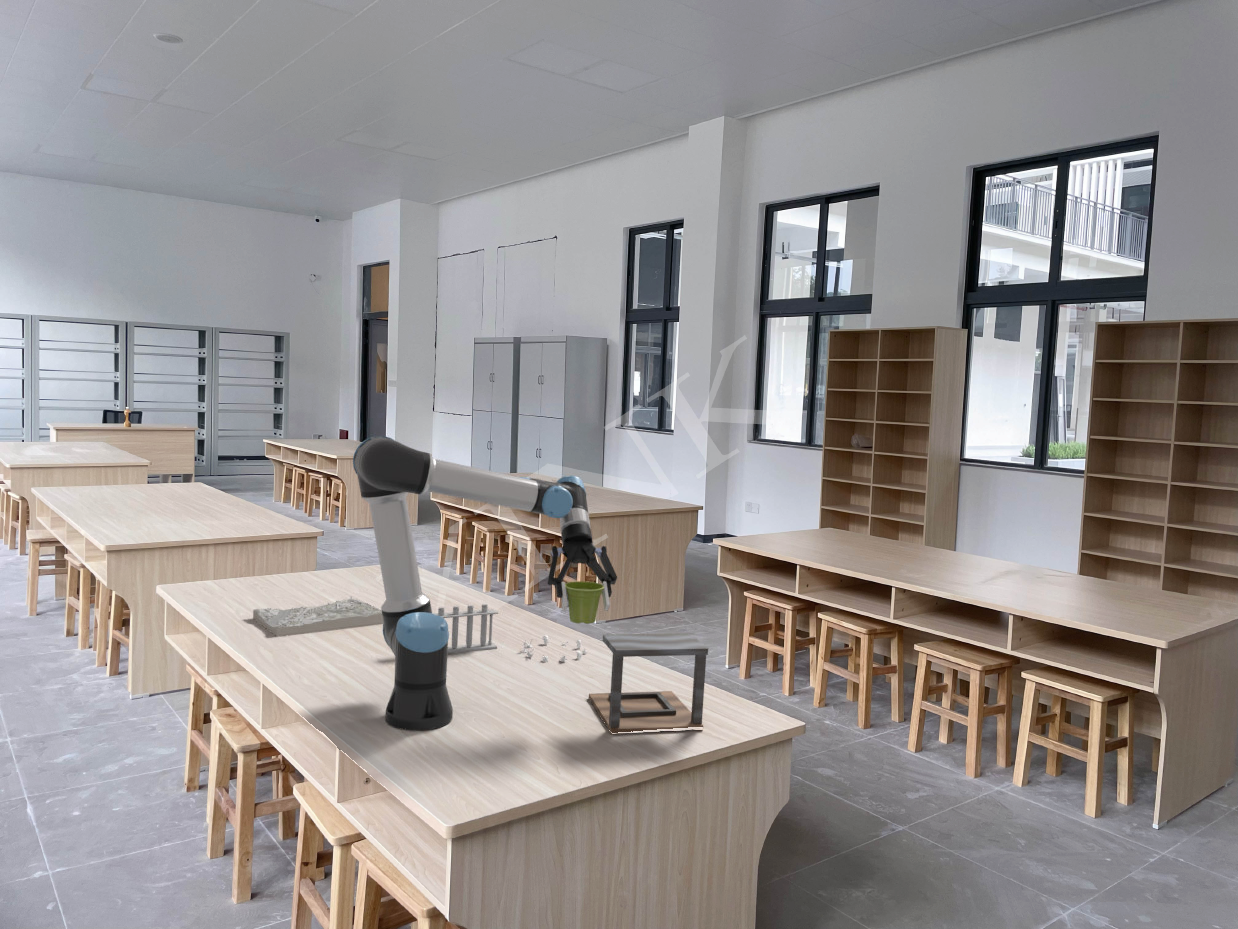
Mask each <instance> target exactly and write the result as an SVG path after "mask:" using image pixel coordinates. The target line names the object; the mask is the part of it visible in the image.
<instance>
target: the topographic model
mask: <svg viewBox="0 0 1238 929" xmlns="http://www.w3.org/2000/svg"><path fill="white" fill-rule="evenodd" d="M253 618H254V619H255V620H256V621H255V622H257V621H258V622H259V623H260V625H261V626H262V625H263V626H264V628H265V629H266V628H267V629H268V630H267V629H266V630H267V631H268V632H270V631H271V632H272V633H273V635H274V636H275V635H276V636H280V637H287V636H286V635H288V636H294V635H304V634H312V633H319V632H328V631H335V630H343V629H351V628H360V627H368V626H377V625H383V623H384V622H383V616H382V610H381V609H380V608H378V607H376V606H375V605H373V606H372V604H369V603H367V602H364V601H362V600H360V599H358V598H353V596H352V595H351V596H350V598H347V599H342V600H336V601H334V602H332V603H329V602H328V603H327V604H322V605H316V606H313V605H312V606H305V607H304V606H301V607H292V608H289V609H281V608H272V607H270V608H269V607H267V608H256V609H255V608H254V609H253V610H252V619H253ZM254 619H253V620H254ZM258 622H257V623H258ZM259 623H258V624H259ZM263 626H262V627H263ZM271 632H270V633H271ZM272 633H271V634H272ZM276 636H275V637H276Z"/></svg>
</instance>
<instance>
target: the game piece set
mask: <svg viewBox="0 0 1238 929" xmlns="http://www.w3.org/2000/svg"><path fill="white" fill-rule="evenodd" d="M533 640H534V638H531V640H530V643H528V642H527V641H526V640H525V641H524V642H523V645H524V646H523V649H522V648H520V652H521V653H523V654H526V656H528V657H529V658H532V657H533V655H534V653H532V652H533V650H534V648H533V645H532V642H533ZM542 640H543V645H545V646H547V645H548V644H549V636H548V635H547V634H544V635H543V636H542ZM568 643H569V641H566V642H565V643H561V644H560V646H565V647H566V646H567V644H568ZM575 643H576V647H577V651H576V652H575V654H576V657H575V659H576V660H579V661H580V660H583V658H582V656H583V655H587V654H588V652H587V650H586V648H584V649H583V650H582V651H580V650H579V649H581V647H582V641H581V639H577V640H576V642H575ZM528 648H529V649H530V648H531V650H530V651H529V649H528ZM559 660H560V661H561V662H562V663H565V661H567V660H568V658H567V656H566V654H563V656H561V657H560V659H559ZM541 662H543V663H548V662H549V659H548V655H545V654H542V660H541Z"/></svg>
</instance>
